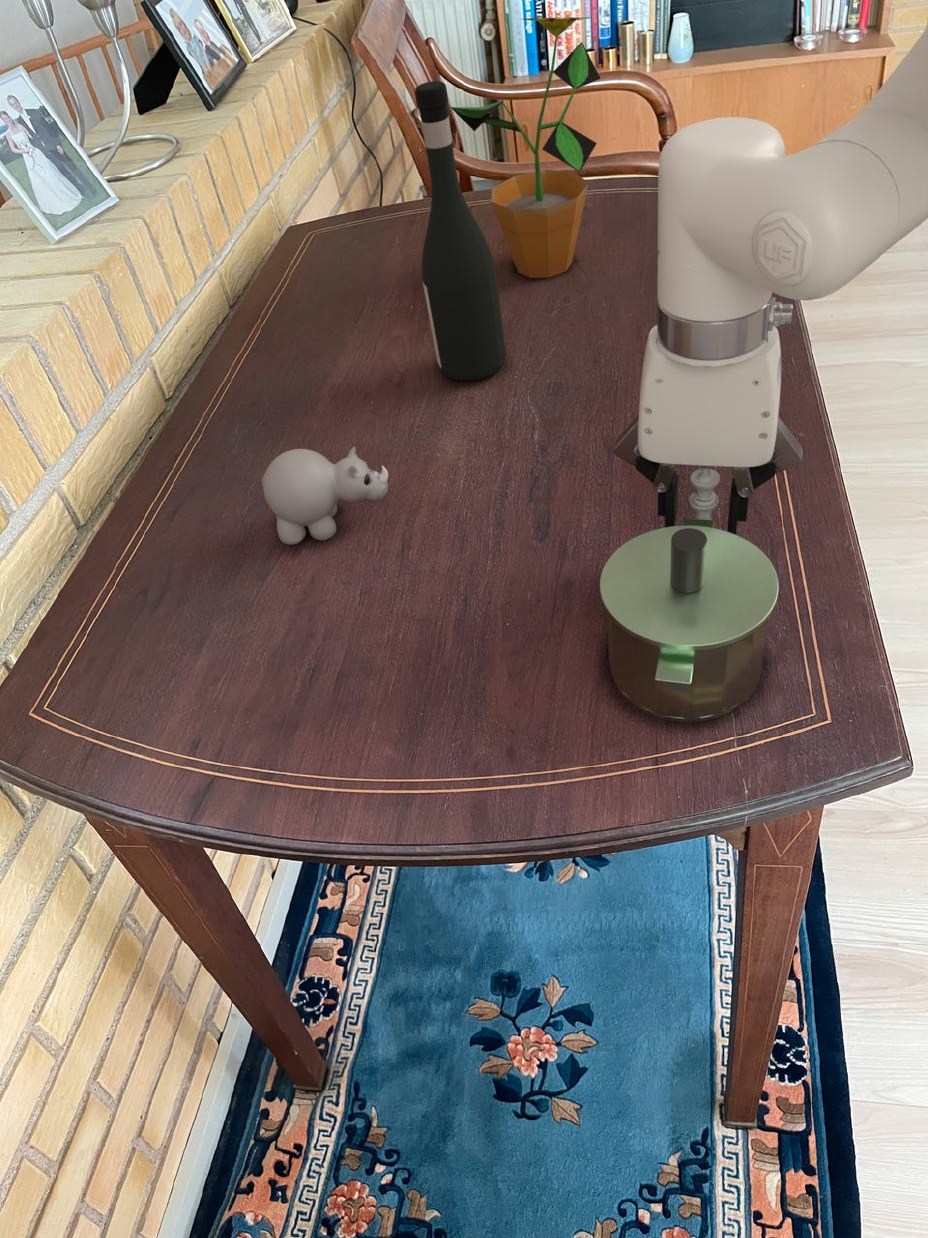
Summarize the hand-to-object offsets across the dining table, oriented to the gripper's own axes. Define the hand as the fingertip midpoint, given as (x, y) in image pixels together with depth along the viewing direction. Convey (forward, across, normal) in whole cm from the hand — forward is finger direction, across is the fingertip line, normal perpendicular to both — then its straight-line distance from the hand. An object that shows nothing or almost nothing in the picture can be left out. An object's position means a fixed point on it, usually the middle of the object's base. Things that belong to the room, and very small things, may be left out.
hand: (701, 520), depth 76 cm
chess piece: (+5, 0, 0) cm, 5 cm away
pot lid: (-4, 0, +12) cm, 13 cm away
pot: (+5, 0, +12) cm, 13 cm away
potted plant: (+5, +26, -56) cm, 62 cm away
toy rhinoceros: (+5, +35, -2) cm, 35 cm away
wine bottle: (+5, +29, -30) cm, 42 cm away
